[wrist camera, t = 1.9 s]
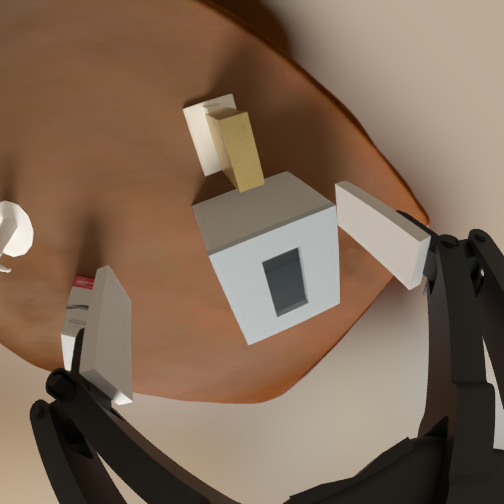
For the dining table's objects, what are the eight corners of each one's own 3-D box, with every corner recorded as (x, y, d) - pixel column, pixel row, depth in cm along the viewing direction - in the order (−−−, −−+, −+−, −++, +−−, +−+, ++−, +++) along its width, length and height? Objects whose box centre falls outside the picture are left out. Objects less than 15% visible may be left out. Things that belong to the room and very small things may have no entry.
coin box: (191, 206, 36) (208, 256, 26) (287, 170, 37) (335, 205, 28) (225, 289, 45) (248, 345, 36) (302, 257, 47) (339, 303, 38)
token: (204, 113, 26) (218, 120, 21) (226, 106, 26) (247, 111, 21) (222, 171, 30) (239, 192, 25) (242, 164, 31) (265, 183, 25)
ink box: (74, 273, 35) (59, 333, 25) (104, 279, 37) (98, 340, 28) (73, 314, 38) (64, 372, 29) (100, 319, 40) (97, 377, 31)
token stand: (182, 108, 28) (185, 110, 25) (230, 93, 29) (240, 94, 26) (204, 174, 34) (210, 184, 31) (248, 158, 35) (258, 167, 32)
